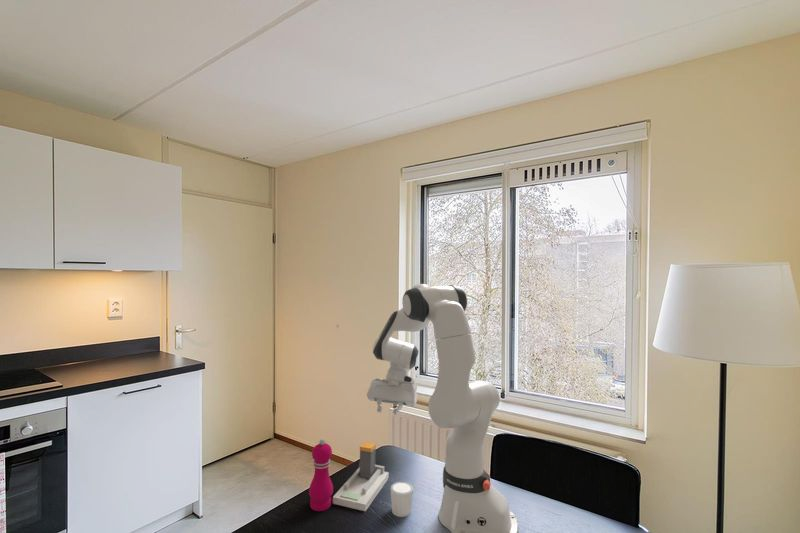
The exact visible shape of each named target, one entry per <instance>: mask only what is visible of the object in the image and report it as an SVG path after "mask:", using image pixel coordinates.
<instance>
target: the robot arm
mask: <svg viewBox="0 0 800 533" xmlns="http://www.w3.org/2000/svg"><path fill="white" fill-rule="evenodd" d="M467 305H468V297H467V295H466V292H465V289H463V288H462V287H461V286H459V285H454V284H449V285H429V284H426V283H417V284H415V285H414V286H412V288H409V289H408V290H406V291H404V294H403V296H402V308H401V309H399V310H396V311H393V312H392V313H391V315H390V316H389V318H388V320H387V321H386V323H385V325H384V327H383V329H382V331H381V333H380V334H379V335H378V337H377V339H376V340H375V341H374V343H373V347H372V353H373V355H374V357H375V359H376V360H378V361H379V360H380V361H386V362H389V368H388V370H387V373H386V376H385V379H384V378H375V379H373V380H371V382H370V386H369V387H368V390H367V393H366V397H367V399H368V400H369V401H370V402H376V403H377V409H376V411H377V413H382V412H383V407H382V406H381V405H382V403H385V404H393V405H398V406H397V407H396V408H394V407H393V408H394V409H393V411H392V413H393V415H396V416H397V415H399V412H400V411H401V410H402V409H403V406H406V407H415V406H416V405H417V401H418V392H417V389H418V385H417V382H416V379H415V378H413V377H411V376H410V375H409V372H410V370H411V369H413V368H415V366H416V364H417V358H418V355H419V349H418V348H417V346H416V345H415V344H414V343H411V342H407V341H405V340H400V339H397V338H394V337H392V335H393V334H394V333H395V332H413V333H414V332H415V333H416V332H419V331H420V332H421V331H422V330H424V329H425V328H427V327H428V325H429V323H430V322H431V323H432V326H433V334H434V341H435V345H436V346H435V348H436V353H437V361H438V374H437V375H438V376H437V381H436V385H435V388H434V391H433V393H432V395H431V396H430V398H429V400H428V405H427V410H428V415H429V417H430V420H431V421H432V422H433V424H434V425H435V426H437V427H438V428H441V429H451V431H450V432H449V434H448V436H447V437H446V440H445V445H444V446H445V454H444V456H445V457H444V467H443V470H442V487H443V493H442V498H441V505H440V508H439V510H438V519H439V522H440V523H441V525H442V526H444V527H445V528H446V529H447V530H448V531H449V532H450V533H519V524H518V519H517V517H516V515H515V514H514V513H513V512H512V511H511V510H510V507H509V503H508V501H507V498H506V497H505V496H504V495H503V494H502V492H499V490H497V489H496V488H495V487H494V486H493V485H491V476H490V475H491V474H490V471H489V470H488V471H486V470H484V456H485V455H484V454H485V453H484V452H485V443H486V437H487V434H488V430H489V427H490V423H491V421H492V418H493V416H494V414H495V411H496V410H498V407H499V405H500V399H501V397H500V394H499V391H498V389H497V388H496V386H495V385H494V384H493V383H492V382H490V381H488V380H481V379H480V380H478V379H476V380H475V379H474V380H470V377H471V371H472V368H473V366H474V365H475V363H476V353H475V347H474V344H473V343H474V342H473V338H472V333H471V327H470V325H469V321H468V318H467V315H466V313H465V312H466V309H467Z"/></svg>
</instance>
